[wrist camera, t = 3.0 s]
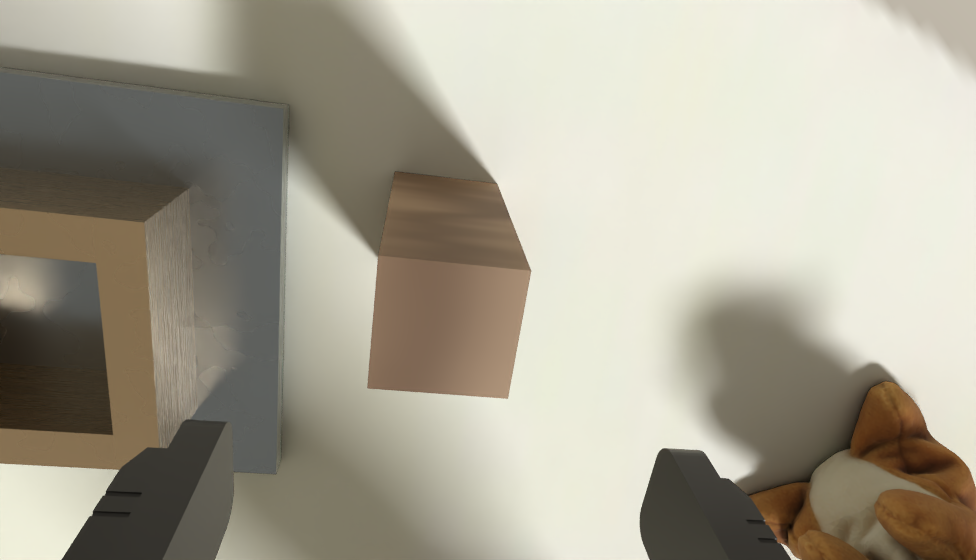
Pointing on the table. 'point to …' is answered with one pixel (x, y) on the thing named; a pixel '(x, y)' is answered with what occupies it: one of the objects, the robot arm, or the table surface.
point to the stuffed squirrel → (880, 493)
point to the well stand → (138, 270)
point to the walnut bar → (447, 290)
